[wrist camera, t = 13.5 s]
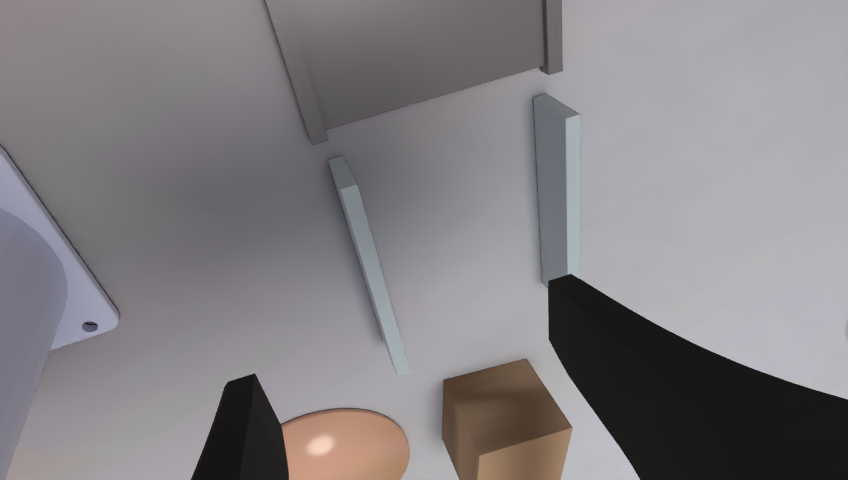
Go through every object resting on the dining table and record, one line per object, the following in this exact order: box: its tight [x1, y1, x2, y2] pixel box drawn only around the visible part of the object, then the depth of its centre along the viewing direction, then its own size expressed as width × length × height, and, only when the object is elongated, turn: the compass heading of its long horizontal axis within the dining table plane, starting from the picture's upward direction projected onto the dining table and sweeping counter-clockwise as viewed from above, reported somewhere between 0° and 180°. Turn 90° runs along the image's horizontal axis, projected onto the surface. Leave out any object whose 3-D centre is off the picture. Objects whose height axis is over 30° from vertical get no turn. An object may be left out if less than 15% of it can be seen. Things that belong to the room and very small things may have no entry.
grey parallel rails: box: [328, 94, 580, 378], centre depth 23 cm, size 9×10×2 cm
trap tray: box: [265, 0, 563, 145], centre depth 18 cm, size 10×6×1 cm, turn 100°
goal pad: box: [281, 409, 410, 480], centre depth 30 cm, size 10×10×1 cm
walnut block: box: [442, 359, 573, 480], centre depth 29 cm, size 5×5×5 cm
